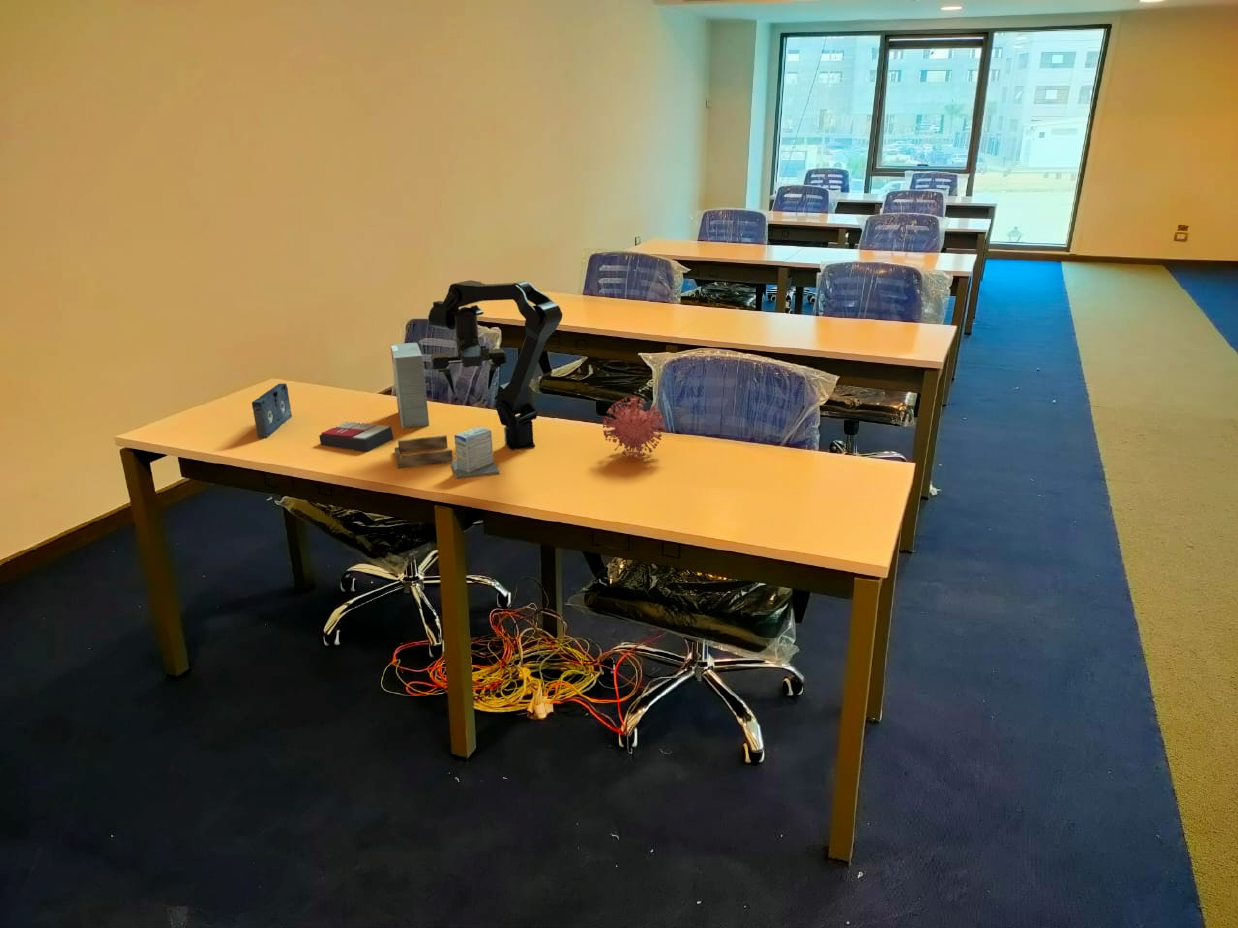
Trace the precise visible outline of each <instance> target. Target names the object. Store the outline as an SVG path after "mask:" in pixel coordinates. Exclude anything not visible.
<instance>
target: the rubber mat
mask: <svg viewBox="0 0 1238 928" xmlns="http://www.w3.org/2000/svg"><path fill="white" fill-rule="evenodd" d="M450 465H451V467H452V469H453V473H454V475H455V478H456V480H457V479H459V480H460V479H466V478H475V477H484V476H483V475H485V476H491V475H490V474H493V475H500V469H499V467H498V466H497V464H496V462H495V460H494V458H493V463H492V464H489V465H487V466H484V467H482V468H479V469H477V470H474V471H472V472H470V473H468V472H465V471H462V470H459V469H458V468H457V461H456V460H455V461H454V460H453V462H451V463H450Z"/></svg>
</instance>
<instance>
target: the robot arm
mask: <svg viewBox="0 0 1238 928" xmlns="http://www.w3.org/2000/svg"><path fill="white" fill-rule="evenodd" d="M509 300H511V301H512V300H513V301H514V303H515V304H516V307H517V309H518V311H519V314H520V315H521V316H522V317H523V318H524V319H525V320H524V321H525V322H524V328H525V333H526V336H525V339H524V341H523V344H522V348H521V350H520V353H519V356H518V357H517V361H516V364H515V367H514V370H513V373H512V375H511V378H510V381H509V382H507V383H504V384H501V385H499V386H498V388H497V391H496V392H497V393H496V395H495V397H494V398H493V400H495V402H494V408H495V409H496V412H497V415H498V419H499V421H500V423H501V425H502V426H504V427H503V431H504V432H503V433H504V442H505V445H506V446H507V447H508V449H509V450H511V451H512V450H520V449H528V448H530V449H531V448H535V447H536V444H535V442H534V430H533V429H534V427H533V420H537V417H538V414H539V412H538V410H537V409H536V408H535V406H534V405H533V404H532V402H531V401H530V399H531V392H530V384H531V381H532V379H533V376H534V373H535V372H536V369H537V365H538V363H539V360H540V357H541V355H542V353H543V350H544V347H545V345H546V341H548V339H549V338H550V336H551V335H553V333H554V332H555V331H556V330H557V328H558V327H559V325H560V323H561V321H562V319H563V312H562V310H561V307H560V305H558V304H557V302H554V301H553V300H552V299H551V297H549V296H548V295H547V294H545V293H543V292H542V291H541V290H539V289H536V288H535V286H533V284H532V283H530V282H529V281H526V280H525V281H520V282H508V283H507V282H506V283H505V282H504V283H493V284H492V283H490V284H489V283H488V284H486V283H483V282H482V281H475V280H465V281H461V282H456V283H452V284H450V285H449V287H448V291H447V294H446V296H445V298H444V300H442V301H441V300H437V301H433V302H432V307H431V309H430V310H429V312H428V313H429V314H428V316H427V317H428V318H427V319H428V322H429V324H430V326H431V327H432V328H433V327H434V328H436V329H443V330H450V331H452V330H454V334H455V346H456V355H447V353H446V352H441V353H431V355H430V365H431V368H432V369H433V370H438V373H441V372H442V373H443V375H444V376H445V378H446V380H447V383H448V386H449V388H450V390H451V392H452V394H454V393H455V388H454V382H453V377H452V371H451V368H450V365H451V364H462V366H463V367H464V368H470V367H477V368H478V367H481V366H483V362H486V387H487V388H486V389H487V390H490V389H491V386H492V383H493V379H494V375H495V373H496V371H497V369H498V368H500V367H502V366H503V364H507V361H508V360H507V354H506V352H505V351H504V350H503V349H502V348H490V347H489V345H485V344H484V345H480V340H479V339H480V338H479V328H478V327H479V326H478V324H479V323H478V316H481V315H484V311H483V310H482V309H481V308H480V307H479V306H478V305H477V304H476V303H479V302H487V301H489V302H490V301H509ZM530 302H531V303H532V304H534V305H532V304H531V303H530ZM472 304H475V305H472ZM469 305H471V306H470V307H467V306H469Z"/></svg>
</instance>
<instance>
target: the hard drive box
mask: <svg viewBox="0 0 1238 928" xmlns="http://www.w3.org/2000/svg"><path fill="white" fill-rule="evenodd" d="M389 346H390V352H391V353H390V354H391V360H392V369H393V370H392V371H393V379H394V387H395V396H396V404H397V412H398V417H399V419H400V420H399V421H400V426H401V428H402V429H408V428H417V427H423V426H425V427H426V426H427V427H428V426H429V425H430V419H429V418H430V417H429V409H428V399H427V390H426V379H425V369H424V357H423V353H422V351H421V349H420V346H419V344H418V342H408V343H396V344H395V343H394V344H390V345H389Z"/></svg>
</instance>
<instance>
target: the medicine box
mask: <svg viewBox="0 0 1238 928" xmlns="http://www.w3.org/2000/svg"><path fill="white" fill-rule="evenodd" d="M492 433H493V432H492V430H491V429H488V428H485V427H482V426H477V427H474V428H471V429H467V430H465V431H463V432H459V433H457V434H455V435H454V445H455V446H454V448H455V457H456V460H455V461H457V468H458V469H459V470H462V471H465V472H468V473H470V472H472V471H474V470H477V469H479V468H482V467H484V466H487V465H489V464H492V463H493V459H494V453H493V452H494V451H493V435H492Z"/></svg>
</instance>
